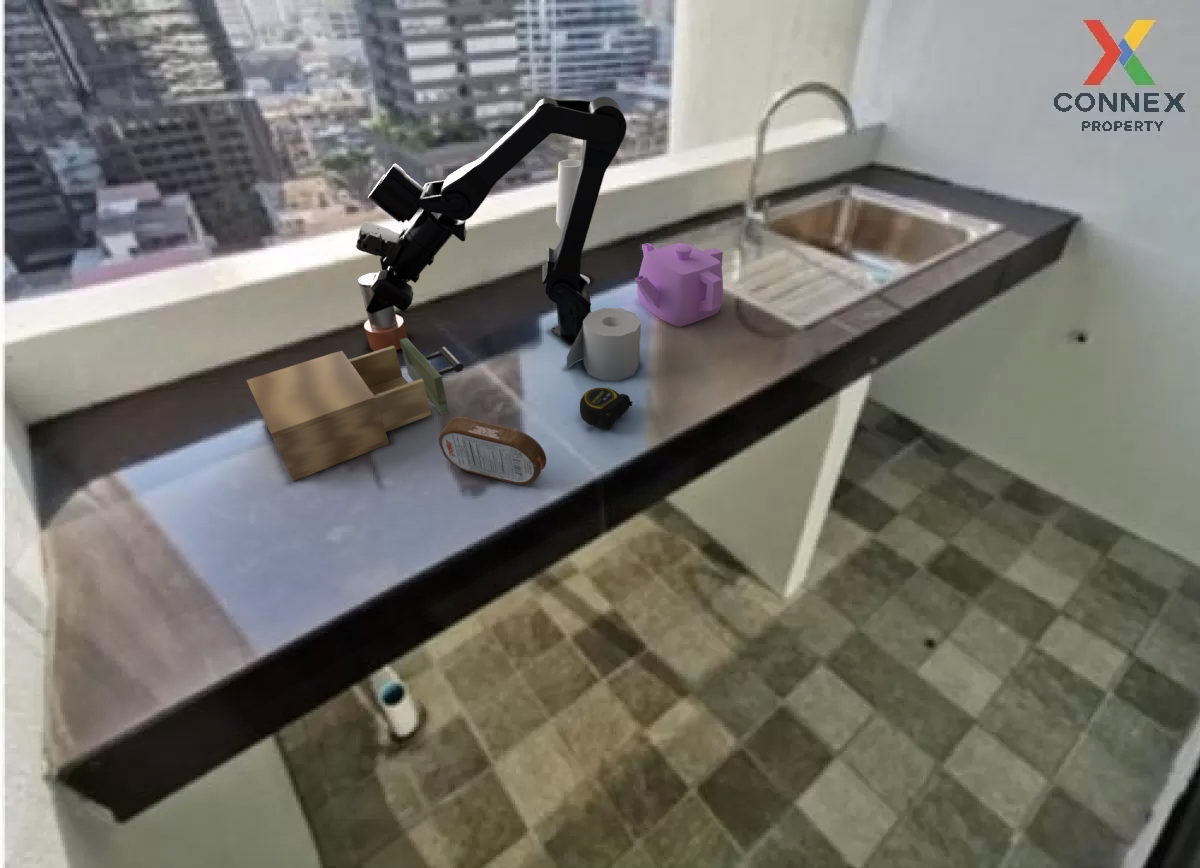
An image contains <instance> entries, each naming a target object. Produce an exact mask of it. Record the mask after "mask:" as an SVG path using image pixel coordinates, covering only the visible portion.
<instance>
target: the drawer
mask: <svg viewBox="0 0 1200 868" xmlns="http://www.w3.org/2000/svg"><path fill="white" fill-rule="evenodd" d="M400 343H401V347H402V348H401V351H402V355H403V360H404V364H405V368H406V371H407V375H408V376H409V377H410V379H411V380H412V381H410V382H408V381H407V380H406V379H405V377H404V375H403V372H402V368H401V365H400V361H399V357H398V356H399V355H398V352H397V350H396V348H395V347H394V346H390V347H387V348H384V349H381V350H378V351H374V350H373V351H372V352H368V353H366V354H362V355H360V356H356V357H352V358H350V359H349V358H348V360H349V361H350V363H351V364H352V365H353V367H354V368H355V370H356V371H357V372H358V374H359V375H360V377H361V378H362V379H363V381H364V382H365V384H366V385H367V386H368V388H369V389H370V391H371V392H372V393H373V395H374V396H375V398H376V402H377V405H378V408H379V412H380V415H381V418H382V422H383V425H384V428H385V432H386V433H387V432H390V431H392V430H395V429H398V428H401V427H403V426H406V425H408V424H411V423H413V422H416V421H418V420H421V419H424V418H427V417H429V416H432V411H431V405H430V403H431V404H432V405H433V406H434V408H435V409H436V410H437V412H439V414H440V415H441V416H443V415H446V414H449V412H450V411H449V407H448V402H447V397H446V391H445V387H444V382H443V377H442V375H445V374H448V373H450V372H456V373H460V372H462V371H463V370H464V364H463V363H462V362H461V361H460V360H459V359H458V358H457V357H456V356H455V355H454V353H452V352H451V351H450V350H449V349H448V348H447V347H446V346H441V347H440V348H439V349H438V351H436V352H433V353H429V354H428V355H423V354H422V353H421V352H420V351H419V350H418V349H417V348H416V346H415V345H414V344H413V343H412V342H411V340H409V338H408V339H407V338H404V339H401V340H400ZM439 357H442V358H443V360H444V361H445V362H446V363H447V364H448V365H449V366H447V367H444V368H442V369H439V370H437V369H436V368H435V367H434V366H433V365H432V364H431V363H430V362H429V361H430V360H433V359H436V358H439Z"/></svg>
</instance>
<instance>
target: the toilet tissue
mask: <svg viewBox="0 0 1200 868" xmlns="http://www.w3.org/2000/svg"><path fill="white" fill-rule="evenodd" d="M641 330H642V321H641V320H640V318H639V316H638V315H637V313H635V312H632V311H629V310H626V309H624V308H622V307H621V308H620V307H602V308H599V309H597V310H593V311H591V312H590V313H589V314H588V315H587V316H586V318H585V319H584V320H583V326H582V328H581V330H580V332H579V334H578V336H577V338H576V340H575V342H574V344H572V345H571V348H570V350H569V352H568V353H567V355H566V369H568V368H570V367H571V366H572V365H574V363H576V362H579V361H581V360H583V366H584V369H585V370H586V373H587V374H588V375H589V376H592V377H594V378H596V379H598V380H600V381H610V382H611V381H612V382H614V381H615V382H617V381H623V380H625V379H627V378H630V377H633V376H634V375H635V373H636V371H637V370H638V368H639V365H640V349H641V347H640V346H641V332H642V331H641Z"/></svg>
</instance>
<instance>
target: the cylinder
mask: <svg viewBox="0 0 1200 868" xmlns="http://www.w3.org/2000/svg"><path fill="white" fill-rule="evenodd" d="M375 274H376V275H377V274H378V272H370V273H366V274H363V275H361V276H360V277H359V278H358V279H357V283H358V285H359V290H360V294H361V296H362V300H363V304H364V308H365V309H366V308H367V306H368V304H369V302H370V300H371V298H372V296H373V294H374V292H373V291H372V290H371V285H372V282H373V278H374V275H375ZM366 314H367V315H366V316H367V318H368V320H369V322H370V326H371V327H372V328H374V329H378V330H383V329H388V328H391V327H393V326H394V325H396V323H397V319H396V315H397V314H396V311H395V306H391V307H389V308H386V309H383V310H381V311H378V312H375V313H373V314H370V313H369V312H367V311H366Z"/></svg>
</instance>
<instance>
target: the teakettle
mask: <svg viewBox="0 0 1200 868" xmlns="http://www.w3.org/2000/svg"><path fill="white" fill-rule="evenodd" d="M641 248H642V249H641V250H642V254H643V258H642V260H641V264H640V268H639V269H640V270H639V273H638V276H636V277H635V278H634V281H635V283H636V294H637V295H636V296H637V300H638V303H639V304H640V306H642V307H643V308H644V309H646V310H647V311H648V312H650V313H651V314H652V315H654V316H655V317H656V318H659V319H660V320H662V321H664V322H666V323H667V324H669V325H671V326H674V327H677V328H681V327H685V326H688V325H691V324H695V323H697V322H700V321H703V320H704V319H707V318H709V317H712V316H714V315H716V314H718V313H719V311H720V309H721V307H722V303H723V296H724V279H723V278H724V277H723V254H724V252H723V250H720V249H718V248H716V247H714V248H710V249H705V250H702V249H700V248H698V247H695V246H693V245H690V244H689V243H686V242H676V243H673V244H669V245H666V246H662V247H660V248H659V247H658V248H654V246H653V244H652V243H648V242H647V243H643V244H641Z"/></svg>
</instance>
